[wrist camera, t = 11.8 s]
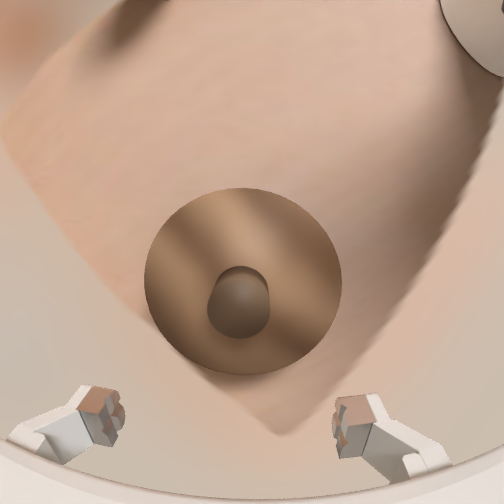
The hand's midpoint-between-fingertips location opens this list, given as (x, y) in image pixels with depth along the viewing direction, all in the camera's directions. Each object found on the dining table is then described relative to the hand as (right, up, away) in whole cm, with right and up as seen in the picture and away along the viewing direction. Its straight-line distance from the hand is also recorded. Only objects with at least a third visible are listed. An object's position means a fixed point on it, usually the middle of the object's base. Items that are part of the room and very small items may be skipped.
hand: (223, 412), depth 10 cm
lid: (0, +3, +14) cm, 14 cm away
